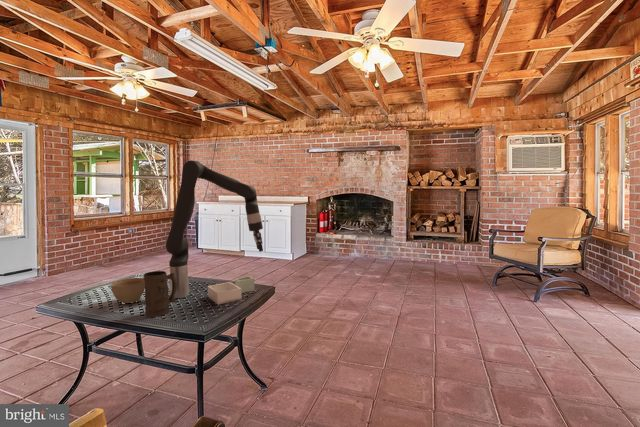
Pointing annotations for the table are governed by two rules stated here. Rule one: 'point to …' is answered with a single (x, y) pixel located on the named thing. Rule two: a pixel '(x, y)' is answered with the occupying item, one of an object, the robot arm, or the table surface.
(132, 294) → the planter bowl
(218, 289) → the big crate
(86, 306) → the table surface
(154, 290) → the beer stein
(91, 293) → the table surface
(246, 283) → the small crate
